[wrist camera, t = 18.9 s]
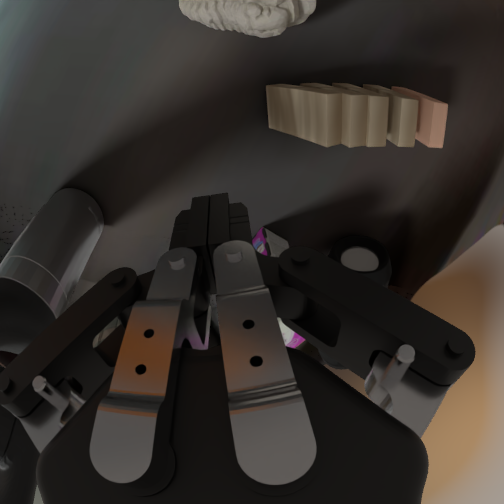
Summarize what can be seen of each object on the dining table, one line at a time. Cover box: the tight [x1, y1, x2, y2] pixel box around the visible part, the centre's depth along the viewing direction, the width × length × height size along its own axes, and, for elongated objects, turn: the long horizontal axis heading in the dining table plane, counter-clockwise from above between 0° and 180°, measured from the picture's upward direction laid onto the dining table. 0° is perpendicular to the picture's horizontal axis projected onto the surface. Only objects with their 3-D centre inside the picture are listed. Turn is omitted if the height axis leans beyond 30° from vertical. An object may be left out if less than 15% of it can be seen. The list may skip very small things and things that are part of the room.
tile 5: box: [391, 86, 448, 148], centre depth 27 cm, size 2×5×9 cm, turn 5°
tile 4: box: [363, 84, 419, 147], centre depth 27 cm, size 2×5×9 cm, turn 5°
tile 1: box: [266, 84, 342, 147], centre depth 27 cm, size 2×5×9 cm, turn 5°
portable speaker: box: [318, 235, 392, 369], centre depth 47 cm, size 26×10×10 cm, turn 6°
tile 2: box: [300, 83, 368, 148], centre depth 27 cm, size 2×5×9 cm, turn 5°
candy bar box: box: [252, 227, 305, 348], centre depth 38 cm, size 11×5×16 cm, turn 144°
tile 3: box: [332, 83, 389, 147], centre depth 27 cm, size 2×5×9 cm, turn 5°
